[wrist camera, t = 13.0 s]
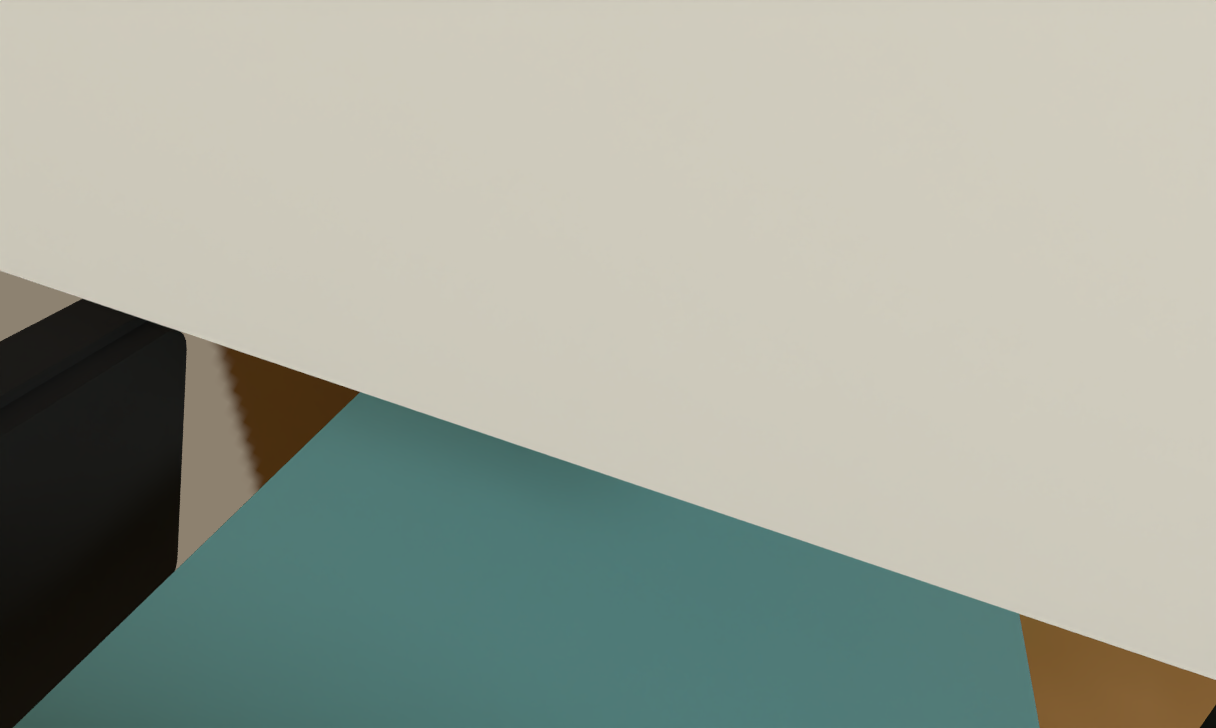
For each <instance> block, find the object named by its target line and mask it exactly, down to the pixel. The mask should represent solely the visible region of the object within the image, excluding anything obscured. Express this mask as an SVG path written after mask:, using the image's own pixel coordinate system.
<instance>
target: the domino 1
mask: <svg viewBox="0 0 1216 728" xmlns="http://www.w3.org/2000/svg"><path fill="white" fill-rule="evenodd" d="M0 271H2V272H6V273H8V274H11V275H14V276H17V277H20V278H23V279H26V280H29V281H32V282H35V283H38V284H41V285H44V286H47V287H50V288H53V289H56V290H59V291H62V292H65V293H68V294H71V295H74V296H77V297H80V298H83V299H86V300H88V301H91V302H94V303H97V304H100V305H103V306H106V307H109V308H112V309H115V310H118V311H121V312H124V313H127V314H130V315H133V316H136V317H139V318H142V319H145V320H148V321H151V322H154V323H157V324H160V325H163V326H166V327H169V328H172V329H175V330H178V331H181V332H184V333H187V334H190V335H193V336H195V337H199V338H201V339H205V340H207V341H210V342H213V343H216V344H219V345H222V346H225V347H228V348H231V349H234V350H237V351H240V352H243V353H246V354H249V355H252V356H255V357H258V358H261V359H264V360H267V361H270V362H273V363H276V364H279V365H282V366H285V367H288V368H291V369H294V370H297V371H299V372H302V373H305V374H308V375H311V376H314V377H317V378H320V379H323V380H326V381H329V382H332V383H335V384H338V385H341V386H344V387H347V388H350V389H353V390H356V391H359V392H362V393H365V394H368V395H371V396H374V397H377V398H380V399H383V400H386V401H389V402H392V403H395V404H398V405H401V406H403V407H406V408H409V409H412V410H415V411H418V412H421V413H424V414H427V415H430V416H433V417H436V418H439V419H442V420H445V421H448V422H451V423H454V424H457V425H460V426H463V427H466V428H469V429H472V430H475V431H478V432H481V433H484V434H487V435H490V436H493V437H496V438H499V439H502V440H505V441H508V442H510V443H513V444H516V445H519V446H522V447H525V448H528V449H531V450H534V451H537V452H540V453H543V454H546V455H549V456H552V457H555V458H558V459H561V460H564V461H567V462H570V463H573V464H576V465H579V466H582V467H585V468H588V469H591V470H594V471H597V472H600V473H603V474H606V475H609V476H612V477H614V478H617V479H620V480H623V481H626V482H629V483H632V484H635V485H638V486H641V487H644V488H647V489H650V490H653V491H656V492H659V493H662V494H665V495H668V496H671V497H674V498H677V499H680V500H683V501H686V502H689V503H692V504H695V505H698V506H701V507H704V508H707V509H710V510H713V511H716V512H719V513H721V514H724V515H727V516H730V517H733V518H736V519H739V520H742V521H745V522H748V523H751V524H754V525H757V526H760V527H763V528H766V529H769V530H772V531H775V532H778V533H781V534H784V535H787V536H790V537H793V538H796V539H799V540H802V541H805V542H808V543H811V544H814V545H817V546H820V547H823V548H825V549H828V550H831V551H834V552H837V553H840V554H843V555H846V556H849V557H852V558H855V559H858V560H861V561H864V562H867V563H870V564H873V565H876V566H879V567H882V568H885V569H888V570H891V571H894V572H897V573H900V574H903V575H906V576H909V577H912V578H915V579H918V580H921V581H924V582H927V583H930V584H932V585H935V586H938V587H941V588H944V589H947V590H950V591H953V592H956V593H959V594H962V595H965V596H968V597H971V598H974V599H977V600H980V601H983V602H986V603H989V604H992V605H995V606H998V607H1001V608H1004V609H1007V610H1010V611H1013V612H1016V613H1019V614H1022V615H1025V616H1028V617H1031V618H1034V619H1036V620H1039V621H1042V622H1045V623H1048V624H1051V625H1054V626H1057V627H1060V628H1063V629H1066V630H1069V631H1072V632H1075V633H1078V634H1081V635H1084V636H1087V637H1090V638H1093V639H1096V640H1099V641H1102V642H1105V643H1108V644H1111V645H1114V646H1117V647H1120V648H1123V649H1126V650H1129V651H1132V652H1135V653H1138V654H1141V655H1143V656H1146V657H1149V658H1152V659H1155V660H1158V661H1161V662H1164V663H1167V664H1170V665H1173V666H1176V667H1179V668H1182V669H1185V670H1188V671H1191V672H1194V673H1197V674H1200V675H1203V676H1206V677H1209V678H1212V679H1215V680H1216V0H0Z"/></svg>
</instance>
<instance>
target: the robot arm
mask: <svg viewBox="0 0 1216 728" xmlns="http://www.w3.org/2000/svg"><path fill="white" fill-rule="evenodd" d="M186 351H187V350H186V340H185V337H184V335H183V334H182V333H181V332H180V331H178V330H175V329H172V328H169V327H166V326H163V325H160V324H157V323H154V322H151V321H148V320H145V319H142V318H139V317H136V316H133V315H130V314H127V313H124V312H121V311H118V310H115V309H112V308H109V307H106V306H103V305H100V304H97V303H94V302H91V301H88V300H86V299H81V300H79V301H77V302H75V303H73V304H72V305H70V306H68V307H66V308H64V309H62V310H60V311H58V312H56V313H54V314H52V315H50V316H49V317H47V318H45V319H43V320H41V321H39V322H37V323H35V324H33V325H31V326H29V327H27V328H25V329H24V330H21V331H20V332H18V333H16V334H14V335H12V336H10V337H8V338H6V339H4V340H2V341H0V728H13V727H14V726H15V725H16V724H17V723H18V722H19V721H20V720H21V719H22V718H23V717H25V716H26V715H27V714H28V713H29V712H30V711H31V710H32V709H33V708H34V707H35V706H36V705H37V704H38V703H39V702H40V701H41V700H42V699H43V698H44V697H45V696H46V695H47V694H48V693H49V692H50V691H51V690H52V689H54V688H55V687H56V686H57V685H58V684H59V683H60V682H61V681H62V680H63V679H64V678H65V677H66V676H67V675H68V674H69V673H70V672H71V671H72V670H73V669H74V668H75V667H76V666H77V665H78V664H79V663H80V662H81V661H82V660H84V659H85V658H86V657H87V656H88V655H89V654H90V653H91V652H92V651H93V650H94V649H95V648H96V647H97V646H98V645H99V644H100V643H101V642H102V641H103V640H104V639H105V638H106V637H107V636H108V635H109V634H110V633H111V632H112V631H114V630H115V629H116V628H117V627H118V626H119V625H120V624H121V623H122V622H123V621H124V620H125V619H126V618H127V617H128V616H129V615H130V614H131V613H132V612H133V611H134V610H135V609H136V608H137V607H138V606H139V605H140V604H141V603H142V602H144V601H145V600H146V599H147V598H148V597H149V596H150V595H151V594H152V593H153V592H154V591H155V590H156V589H157V588H158V587H159V586H160V585H161V584H162V583H163V582H164V581H165V580H166V579H167V578H168V577H169V576H170V575H171V574H173V573H174V572H175V568H176V564H177V555H178V553H177V552H178V532H179V509H180V487H181V486H180V485H181V464H182V441H183V419H184V397H185V372H186ZM1200 728H1216V705H1215V707H1214V708H1213V710H1212V711H1211V713H1210V714H1209V715H1208V717H1207V718H1206V720H1205V721H1204V723H1203V724H1202V725H1201V727H1200Z"/></svg>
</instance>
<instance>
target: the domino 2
mask: <svg viewBox="0 0 1216 728" xmlns="http://www.w3.org/2000/svg"><path fill="white" fill-rule="evenodd" d="M13 728H1040V727H1039V722H1038V716H1037V711H1036V705H1035V700H1034V694H1033V688H1032V683H1031V677H1030V672H1029V666H1028V661H1027V655H1026V650H1025V644H1024V639H1023V633H1022V627H1021V622H1020V616H1019V613H1016V612H1013V611H1010V610H1007V609H1004V608H1001V607H998V606H995V605H992V604H989V603H986V602H983V601H980V600H977V599H974V598H971V597H968V596H965V595H962V594H959V593H956V592H953V591H950V590H947V589H944V588H941V587H938V586H935V585H932V584H930V583H927V582H924V581H921V580H918V579H915V578H912V577H909V576H906V575H903V574H900V573H897V572H894V571H891V570H888V569H885V568H882V567H879V566H876V565H873V564H870V563H867V562H864V561H861V560H858V559H855V558H852V557H849V556H846V555H843V554H840V553H837V552H834V551H831V550H828V549H825V548H823V547H820V546H817V545H814V544H811V543H808V542H805V541H802V540H799V539H796V538H793V537H790V536H787V535H784V534H781V533H778V532H775V531H772V530H769V529H766V528H763V527H760V526H757V525H754V524H751V523H748V522H745V521H742V520H739V519H736V518H733V517H730V516H727V515H724V514H721V513H719V512H716V511H713V510H710V509H707V508H704V507H701V506H698V505H695V504H692V503H689V502H686V501H683V500H680V499H677V498H674V497H671V496H668V495H665V494H662V493H659V492H656V491H653V490H650V489H647V488H644V487H641V486H638V485H635V484H632V483H629V482H626V481H623V480H620V479H617V478H614V477H612V476H609V475H606V474H603V473H600V472H597V471H594V470H591V469H588V468H585V467H582V466H579V465H576V464H573V463H570V462H567V461H564V460H561V459H558V458H555V457H552V456H549V455H546V454H543V453H540V452H537V451H534V450H531V449H528V448H525V447H522V446H519V445H516V444H513V443H510V442H508V441H505V440H502V439H499V438H496V437H493V436H490V435H487V434H484V433H481V432H478V431H475V430H472V429H469V428H466V427H463V426H460V425H457V424H454V423H451V422H448V421H445V420H442V419H439V418H436V417H433V416H430V415H427V414H424V413H421V412H418V411H415V410H412V409H409V408H406V407H403V406H401V405H398V404H395V403H392V402H389V401H386V400H383V399H380V398H377V397H374V396H371V395H368V394H365V393H362V392H360V393H359V394H358V395H357V396H356V397H355V398H354V399H353V400H352V401H350V402H349V403H348V404H347V405H346V406H345V407H344V408H343V409H342V410H341V411H340V412H339V413H338V414H337V415H336V416H335V417H334V418H333V419H332V420H331V421H330V422H329V423H328V424H327V425H326V426H325V427H324V428H323V429H322V430H320V431H319V432H318V433H317V434H316V435H315V436H314V437H313V438H312V439H311V440H310V441H309V442H308V443H307V444H306V445H305V446H304V447H303V448H302V449H301V450H300V451H299V452H298V453H297V454H296V455H295V456H294V457H293V458H292V459H290V460H289V461H288V462H287V463H286V464H285V465H284V466H283V467H282V468H281V469H280V470H279V471H278V472H277V473H276V474H275V475H274V476H273V477H272V478H271V479H270V480H269V481H268V482H267V483H266V484H265V485H264V486H263V487H261V488H260V489H259V490H258V491H257V492H256V493H255V494H254V495H253V496H252V497H251V498H250V499H249V500H248V501H247V502H246V503H245V504H244V505H243V506H242V507H241V508H240V509H239V510H238V511H237V512H236V513H235V514H234V515H233V516H231V517H230V518H229V519H228V520H227V522H225V523H224V524H223V525H222V526H221V527H220V528H219V529H218V530H217V531H216V532H215V533H214V534H213V535H212V536H211V537H210V538H209V539H208V540H207V541H206V542H205V543H204V544H203V545H201V546H200V547H199V548H198V549H197V550H196V551H195V552H194V553H193V554H192V555H191V556H190V557H189V558H188V559H187V560H186V561H185V562H184V563H183V564H182V565H181V566H180V567H179V568H178V569H177V570H176V571H175V572H174V573H173V574H171V575H170V576H169V577H168V578H167V579H166V580H165V581H164V582H163V583H162V584H161V585H160V586H159V587H158V588H157V589H156V590H155V591H154V592H153V593H152V594H151V595H150V596H149V597H148V598H147V599H146V600H145V601H144V602H142V603H141V604H140V605H139V606H138V607H137V608H136V609H135V610H134V611H133V612H132V613H131V614H130V615H129V616H128V617H127V618H126V619H125V620H124V621H123V622H122V623H121V624H120V625H119V626H118V627H117V628H116V629H115V630H114V631H112V632H111V633H110V634H109V635H108V636H107V637H106V638H105V639H104V640H103V641H102V642H101V643H100V644H99V645H98V646H97V647H96V648H95V649H94V650H93V651H92V652H91V653H90V654H89V655H88V656H87V657H86V658H85V659H84V660H82V661H81V662H80V663H79V664H78V665H77V666H76V667H75V668H74V669H73V670H72V671H71V672H70V673H69V674H68V675H67V676H66V677H65V678H64V679H63V680H62V681H61V682H60V683H59V684H58V685H57V686H56V687H55V688H54V689H52V690H51V691H50V692H49V693H48V694H47V695H46V696H45V697H44V698H43V699H42V700H41V701H40V702H39V703H38V704H37V705H36V706H35V707H34V708H33V709H32V710H31V711H30V712H29V713H28V714H27V715H26V716H25V717H23V718H22V719H21V720H20V721H19V722H18V723H17V724H16V725H15V726H14V727H13Z"/></svg>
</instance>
